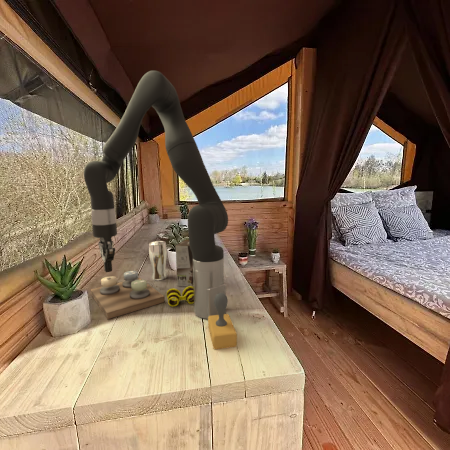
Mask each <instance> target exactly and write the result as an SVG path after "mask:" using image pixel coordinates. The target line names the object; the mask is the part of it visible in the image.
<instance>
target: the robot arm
mask: <svg viewBox="0 0 450 450" xmlns="http://www.w3.org/2000/svg"><path fill="white" fill-rule="evenodd" d="M151 107H152V108H153V109H154V110H155V111H156V113H157V115H158V116H159V117H158V118H159V119H160V121H161V123H162V126H163V128H164V145H165V150H166V153H167V157H168V159H169V161H170V164H171V166H172V169H173V171H174V172H175V173H176V174H177V176H178V177H179V178H180V179H181V180H182V181H183V183H184V184H185V185H186V186H187V187H188V188H190V190H191V191H192V192H193V194H194V196H195V198H196V200H197V202H198V204H197V205H195V206H193V207H191V209H190V210H189V211H188V212H189V213H188V215H187V231H188V232H187V233H188V241H189V245H190V249H191V252H192V255H193V284H194V285H193V287H194V303H193V304H194V305H193V309H194V314H195V316H196V317H198V318H201V319H204V320H205V319H207V320H208V317H209V316H212V315H218V312H217V310H216V307H215V304H214V299H215V296H216V295H217V294H218V293H224V294H225V295H226V296H227V285H226V284H225V268H224V267H225V265H224V264H225V263H224V262H225V257H224V255H225V254H224V252H225V251H224V248H223V247H222V246H220V245H217V244H216V241H215V234H218V233H219V234H220V233H222V232H224V231H225V230H226V229H227V227H228V224H229V215H228V212H227V209H226V207H225V205H224V203H223V201H222V199H221V197H220V196H219V194H218V191H217V190H216V188H215V186H214V184H213V182H212V180H211V177H210V175H209V173H208V171H207V170H208V169H207V167H206V165H205V162H204V160H203V157H202V155H201V152H200V150H199V147H198V145H197V142H196V140H195V138H194V135H193V134H192V131H191V129H190V128H189V127H190V126H189V125H188V123H187V121H186V118H185V116H184V113H183V109H182V107H181V102H180V98H179V95H178V92H177V90H176V88H175V86H174V85H173V84H172V83H171V82H170V80H169V79H168V78H167V77H166V76H165V75H164V74H163V73H162V72H161V71H158V70H149V71H147V72H146V73H144V75H143V76H142V77H141V78H140V80H139V82H138V83H137V86H136V87H135V90H134V92H133V94H132V96H131V98H130V101H129V102H128V104H127V107H126V109H125V112H124V113H123V115H122V117H121V119H120V121H119V123H118V124H117V126H116V128H115V130H114V131H112V134H111V135H110V136H109V137H108V139H107V140H106V142H105V144H104V145H103V146H102V147H103V148H102V152H103V155H102V158H101V159H100V160H91V161H88V162H87V163H86V164H85V165H84V169H83V178H84V183H85V185H86V188H87V191H88V194H89V197H90V208H91V213H90V214H91V215H90V217H91V228H92V236H93V238H97V239H99V241H98V244H97V245H98V248H99V252H100V257H101V259H102V261H103V269H104V270H103V271H104V272H105V273H110V272H112V271H113V261H114V260H115V259H114V258H115V253H116V248H115V247H114V245H115V244H114V243H115V242H114V241H113V239H112V238H113V237H115V236H117V235H118V226H117V216H116V215H117V214H116V210H115V198H114V193H113V192H112V191H110V190H109V189H108V185H107V183H110V182H112V181H113V180H114V179H115V178H116V177H117V175H118V173H119V171H120V169H121V166H122V165H123V162H124V160H125V159H126V157H127V156H128V155H129V153H130V152H131V150H132V149H133V148H134V146H135V145H136V143H137V140H138V137H139V134H140V127H141V125H142V121H143V118H144V117H145V115H146V113H147V112H148V111H149V109H151ZM224 314H227V309H226V310H225V313H224Z"/></svg>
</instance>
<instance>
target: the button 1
mask: <svg viewBox="0 0 450 450" xmlns="http://www.w3.org/2000/svg"><path fill="white" fill-rule="evenodd" d="M117 283H118V279H117V277H116V276H113V275H111V276H105V277H103V278H101V279H100V284H101V286H100V287H111V286H114V285H116V284H117Z"/></svg>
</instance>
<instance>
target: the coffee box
mask: <svg viewBox="0 0 450 450" xmlns="http://www.w3.org/2000/svg"><path fill="white" fill-rule="evenodd" d="M175 266H176V286H177V287H184V288H186V287H188V286H192V287H194V284H193V255H192V252H191V249H190V245H189V240H183V241H181V242H179V243H178V244H176V245H175Z"/></svg>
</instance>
